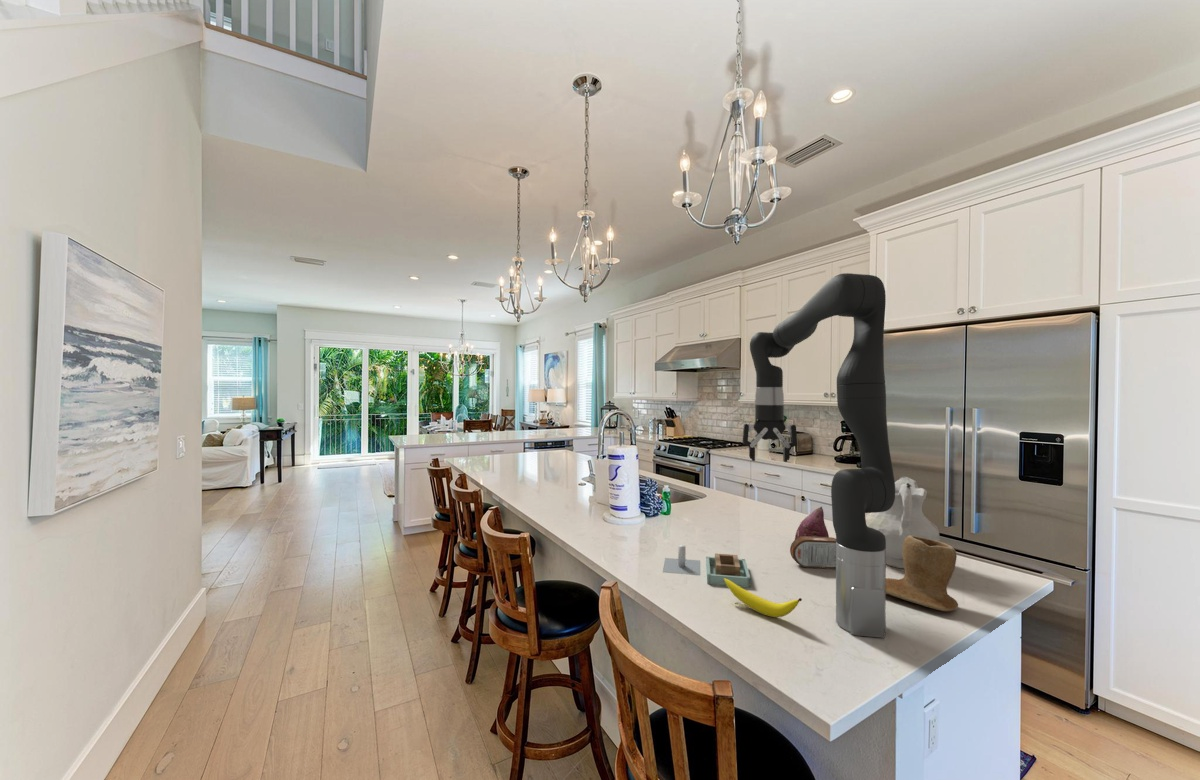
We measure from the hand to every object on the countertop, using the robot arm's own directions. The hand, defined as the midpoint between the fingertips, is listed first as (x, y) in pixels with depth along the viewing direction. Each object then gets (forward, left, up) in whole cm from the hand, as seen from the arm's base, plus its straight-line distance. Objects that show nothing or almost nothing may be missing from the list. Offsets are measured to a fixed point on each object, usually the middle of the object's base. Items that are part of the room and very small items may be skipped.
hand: (769, 461), depth 131 cm
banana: (-28, +6, -30) cm, 42 cm away
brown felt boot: (-14, -32, -30) cm, 46 cm away
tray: (-9, +12, -30) cm, 34 cm away
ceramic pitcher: (+12, -38, -30) cm, 50 cm away
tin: (+4, -14, -30) cm, 34 cm away
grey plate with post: (-5, +24, -30) cm, 39 cm away
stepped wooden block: (-9, +12, -30) cm, 33 cm away
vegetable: (+21, -16, -30) cm, 40 cm away
